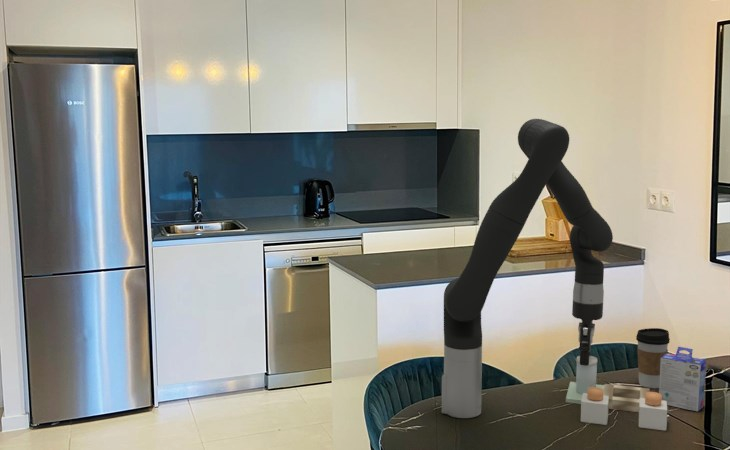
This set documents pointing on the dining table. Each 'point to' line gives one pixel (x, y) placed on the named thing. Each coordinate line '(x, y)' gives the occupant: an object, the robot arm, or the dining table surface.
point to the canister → (586, 375)
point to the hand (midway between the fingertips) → (585, 360)
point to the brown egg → (653, 398)
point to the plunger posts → (647, 413)
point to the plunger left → (595, 393)
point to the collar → (624, 397)
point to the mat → (573, 395)
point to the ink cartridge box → (682, 380)
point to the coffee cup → (651, 355)
